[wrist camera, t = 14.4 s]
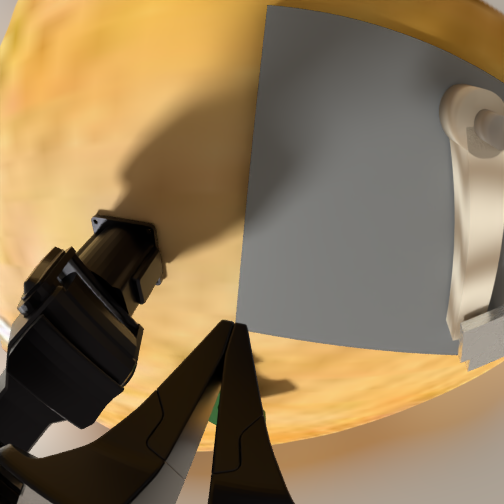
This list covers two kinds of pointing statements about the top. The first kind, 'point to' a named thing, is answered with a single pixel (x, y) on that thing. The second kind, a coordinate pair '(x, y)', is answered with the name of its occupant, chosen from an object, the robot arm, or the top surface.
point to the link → (474, 197)
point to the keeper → (482, 339)
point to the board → (352, 187)
